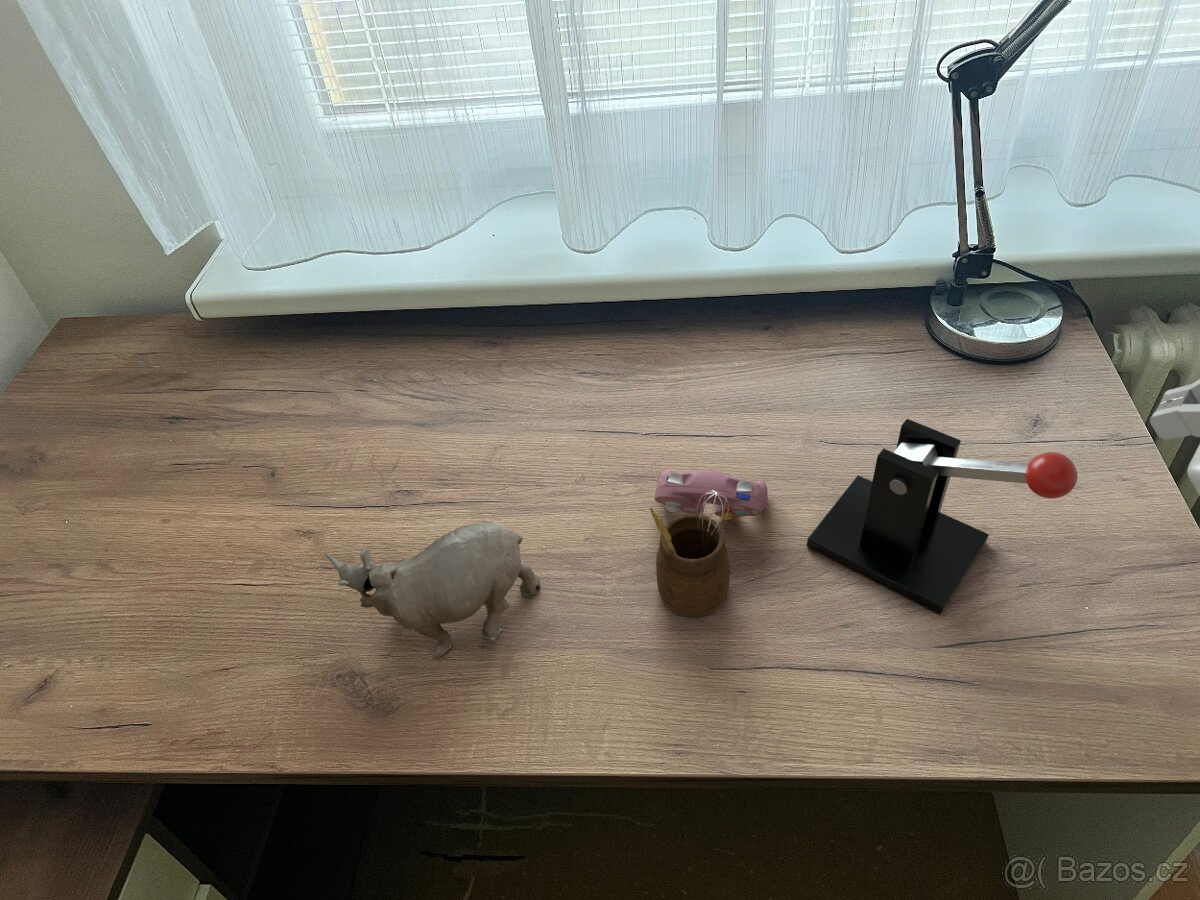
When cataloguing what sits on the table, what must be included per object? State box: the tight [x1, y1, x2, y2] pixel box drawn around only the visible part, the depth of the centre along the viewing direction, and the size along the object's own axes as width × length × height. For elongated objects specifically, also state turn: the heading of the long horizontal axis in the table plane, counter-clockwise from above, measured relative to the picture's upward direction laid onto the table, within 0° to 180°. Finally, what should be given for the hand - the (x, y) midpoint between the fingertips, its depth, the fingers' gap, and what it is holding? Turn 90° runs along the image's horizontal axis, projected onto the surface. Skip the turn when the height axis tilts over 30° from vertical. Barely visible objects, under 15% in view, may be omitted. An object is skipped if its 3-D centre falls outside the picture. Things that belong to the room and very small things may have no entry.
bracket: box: [806, 418, 989, 616], centre depth 71 cm, size 12×9×12 cm
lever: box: [893, 443, 1078, 500], centre depth 64 cm, size 13×3×3 cm, turn 49°
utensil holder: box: [648, 490, 731, 618], centre depth 69 cm, size 6×6×12 cm
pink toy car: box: [654, 469, 769, 521], centre depth 77 cm, size 10×5×7 cm
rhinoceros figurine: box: [324, 522, 541, 659], centre depth 70 cm, size 8×14×15 cm
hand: (1161, 416), depth 53 cm, fingers closed
